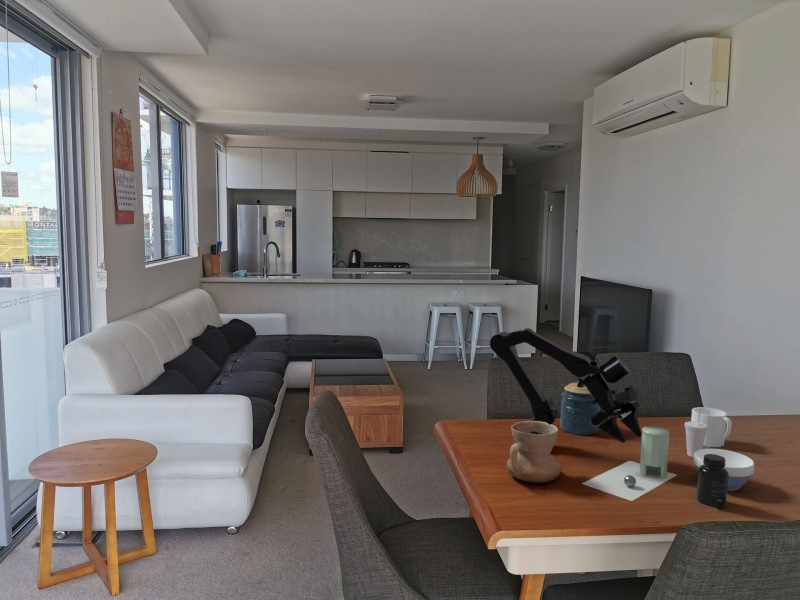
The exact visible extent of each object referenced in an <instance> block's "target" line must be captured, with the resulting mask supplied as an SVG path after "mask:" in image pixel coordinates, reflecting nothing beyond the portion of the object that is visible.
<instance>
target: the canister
mask: <svg viewBox="0 0 800 600" xmlns="http://www.w3.org/2000/svg"><path fill="white" fill-rule="evenodd" d="M577 384H578V382H572V383H568V385H565V386H564V387H563V388H564V391H563V392H561V397H562V400H561V401H562V402H560V405H561V406H560V420H559V425H560V429H561V430H562V431H564V432H567V433H569V434H573V435H579V436H580V435H582V436H589V435H595V434H597V433H598V432H599V429H598V428H597V427H598V426H596V427H593V425H592V424H591V422H590V418H591V416H593V415H594V414H595V413H597V412H598V411H599V410H601V409H600V408H599V406H598V405H597V404H593V402H592V401H594V399H593V397H592V396H591V394H590V393H589V391H588V390H587V388H586V387H585V386H584V387H583V388H579V387H577Z"/></svg>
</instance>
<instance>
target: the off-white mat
mask: <svg viewBox="0 0 800 600" xmlns="http://www.w3.org/2000/svg"><path fill="white" fill-rule="evenodd" d="M628 475H631V476H633V477H634V478H635V479H636V484H635V486H633V487H628V486H626V485H625V483H624V478H625V477H626V476H628ZM677 476H678V474H676V473H673V472H669V471H667V476H666V478H664V479H662V478H660V477H661V473H660V472H657V471H651V470H647V471H646V476H643V475H641V474H640V462H635V461H632V460H628V461H625V462H623V463H622V464H620V465H618V466H617V465H616V467H613V468H611V469H609V470H607V471H605V472H603V473H601V474H598V475H597V476H594V477H593V478H589V480H586V481H585V482H582V483H581V484H582V485H584V486H588V487H589V488H593V489H596V490H598V491H601V492H604V493H607V494H610V495H612V496H616V497H619V498H622V499H625V500H627V501H631V502H633V501H635V500H636V499H638V498H640V497H641V496H644V495H645V494H647V493H649V492H651V491H652V490H654V489H656V488H657V487H659V486H661V485H663V484H664V483H666V482H668V481H670V480H672V479H673V478H675V477H677Z"/></svg>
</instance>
